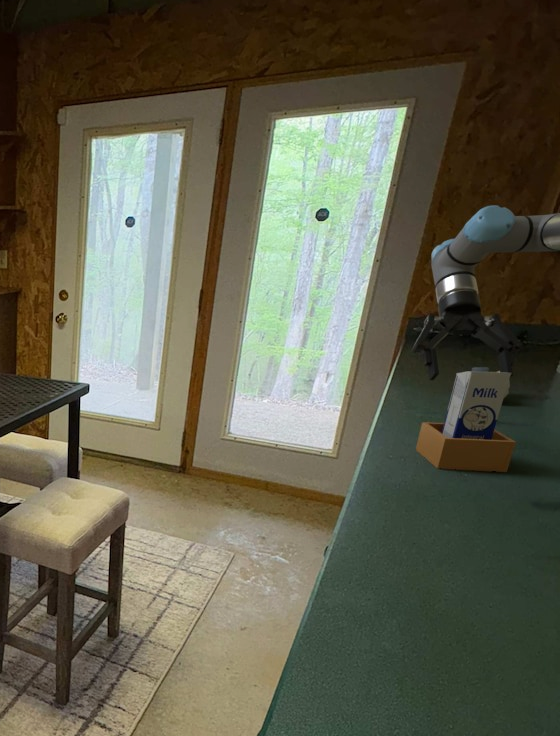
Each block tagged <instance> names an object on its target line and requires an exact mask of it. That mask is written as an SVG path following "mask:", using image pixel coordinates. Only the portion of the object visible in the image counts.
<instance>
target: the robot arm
mask: <svg viewBox="0 0 560 736" xmlns="http://www.w3.org/2000/svg"><path fill="white" fill-rule="evenodd" d="M558 251H560V212H558V213H557V212H556V213H551V214H540V215H539V214H538V215H537V214H536V215H515V214H514V213H513V212H512V211H511V210H510V209H509V208H507V207H505V206H504V207H500V206H499V205H487V206H484V207H483V208H481V209H479V210H478V211H476V213H475V214H474V215H472V217H471V218H470V219H468V220H467V222H466V223H464V226H463V227H462V229H461V230H460V231H459V233H458V234H457V235H456V237H455V238H450V239H447V240H444V241H443V242H442V243H441V244H438V245H436V246H435V247H434V249H433V250H432V252H431V256H430V257H431V265H430V266H431V267H430V268H431V270H432V277H433V282H434V287H435V296H436V302H437V309H438V315H437V316H436V315H435V314H434V313H429V314H428V315H427V317H426V318H425V320H424V321H423V329H422V330H421V332H420V334H419V335H418V337H417V338H416V341H415V343H414V344H413V346H412V347H411V349H410V351H411V353H414V354H415V353H418V356H419V357H420V358H421V359H422V360H421V361H422V364H423V366H424V367H427V373H428V378H429V381H434V380H435V379H436V378H437V377H438V376H439V374H440V372H439V371H440V370H439V365H438V356H437V349H436V348H435V347H436V346H437V345H438V344H439V343H440V342H441V341H442V340H443V339H444V338H446V337H447V336H448V335H449V334H451V335H452V336H472V337H473V338H475V339H479V340H480V341H482V342H483V343H484V344H486V345H487V346H488V347H490V348H491V349H492V350H494V351H495V352H497V353H498V355H497V356H496V357H497V358H496V359H497V362H498V363H497V364H498V368H499V371H500V372H508V373H511V375H510V378H509V379H511V378H512V377H513V376H514V373H513V367H512V366H513V365H514V364H515V362H516V361H515V356H514V355H516V354H517V353H518V352H519V351H520V350H521V349H522V348H523V347H524V344H523V343H522V342H521V341H520V340H519V339H518V338H517V337H516V335H515V334H514V333H513V331H511V330H510V329H509V328H508V326H506V325H505V324H504V323H503V322H502V320H501V316H500V314H499V313H497V312H496V313H492V315H489V316H488V315H487V316H484V315H483V314H482V305H481V300H480V295H479V288H478V282H477V279H476V278H477V277H476V270H475V269H476V267H477V266H478V265H479V264H480V263H481V262H482V261H483V260H484V259H485V258H486V257H487V256H488V255H489V254H497V253H499V254H500V253H523V252H524V253H529V252H530V253H532V252H533V253H535V252H537V253H538V252H545V253H547V252H548V253H549V252H552V253H553V252H558ZM437 324H438V325H439V326H440V327H442V329H441V330H440V331H439V332H438V333H437V334H436V335H435V336H434V337H433V338H432V339H431V340H430V341H428V343H426V344H424V342H425V341H426V338H427V337H428V335H429V333H430V332H431V330H432V328H433V327H434V326H436V325H437ZM477 329H479V330H478V331H477Z"/></svg>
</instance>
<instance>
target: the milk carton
mask: <svg viewBox="0 0 560 736" xmlns="http://www.w3.org/2000/svg"><path fill="white" fill-rule="evenodd" d="M510 375H511V373H508V372H498V371H490V367H486V366H485V367H484V366H483V367H471V370H470V371H462V372H456V375H455V379H454V383H453V388H452V392H451V394H450V395H451V396H450V398H449V399H450V400H449V403H448V407H447V410H446V414H445V418H444V422H443V423H444V425H443V429H442V434H443V435H445V436H446V437H447V438H461V439H485V440H491V439H492V436H493V432H494V429H495V430H496V425H497V421H498V418H499V415H500V412H501V408H502V405H503V401H504V399H505V398H504V395H505V392H506V388H507V385H508V381H510V379H511V378H510ZM503 398H504V399H503Z"/></svg>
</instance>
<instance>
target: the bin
mask: <svg viewBox="0 0 560 736" xmlns="http://www.w3.org/2000/svg"><path fill="white" fill-rule="evenodd" d="M443 425H444V422H429V421H428V422H425V421H422V422H421V426H420V431H419V434H418V438H417V444H416V447H415V451H416V452H417V453H418V454H419V455H420V456H422V457H423V458H424V457H425V458H424V459H426V460H427V461H428V462H429V463H430V464H431V465H432V466H434V467H435V468H436V469H438V468H439V470H441V469H442V470H455V469H456V470H455V471H473V470H474V472H475V471H476V472H492V471H496V472H495V473H507V472H508V470H509V467H510V463H511V461H512V460H511V459H512V456H513V453H514V450H515V447H516V443H517V441H515V440H514V439H512V438H510V437H508V436H507V435H505V434H504V433H502V432H500V431H498V430H497V429H496V428H495V429H494V432H493V436H492V439H491V440H485V439H461V438H447V437H446V436H445V435H443V434H442V429H443ZM440 468H441V469H440Z"/></svg>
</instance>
